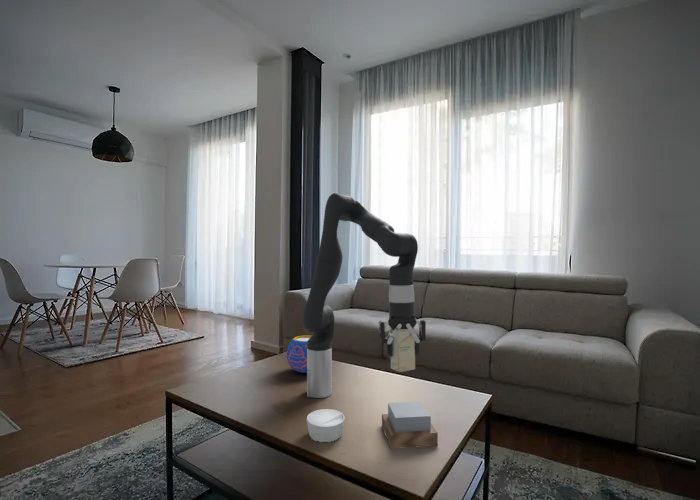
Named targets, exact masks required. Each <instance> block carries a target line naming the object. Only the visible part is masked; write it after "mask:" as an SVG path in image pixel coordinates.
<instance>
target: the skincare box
mask: <svg viewBox="0 0 700 500" xmlns="http://www.w3.org/2000/svg"><path fill="white" fill-rule="evenodd" d="M413 330H414V332H415V327H414V328H413ZM393 331H394V330H392V328H391V327H389V332H390V333H393ZM415 333H416V332H415ZM394 334H395V338H394V339H393V341H392V342H391V344H392V357H390V369H391V370H394V371H396V372H398V373H402V372H408V371H412V370H413V371H414V370H416V356H415V340H414V338H413V337H412V335H411V333H410V332H409V330H408V329H400V330H398V329H397V330H395V333H394Z"/></svg>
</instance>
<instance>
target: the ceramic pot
mask: <svg viewBox="0 0 700 500" xmlns="http://www.w3.org/2000/svg"><path fill="white" fill-rule="evenodd" d="M312 335H313V334H311V335H309V334H308V335H307V334H305V335H298V336H295V337H293V338H292V339H291V340H290V342H289V343H288V346H287V351H286V359H287V362H288V365H289V367H290V368H291V369H292V370H293V371H295V372H297V373H301V374H307V341H308V340H309V339H310V338H311V336H312Z"/></svg>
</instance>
